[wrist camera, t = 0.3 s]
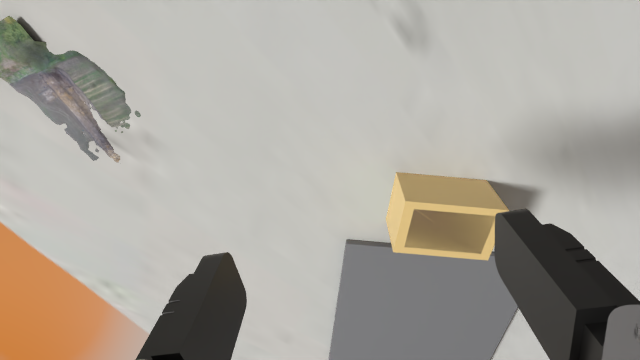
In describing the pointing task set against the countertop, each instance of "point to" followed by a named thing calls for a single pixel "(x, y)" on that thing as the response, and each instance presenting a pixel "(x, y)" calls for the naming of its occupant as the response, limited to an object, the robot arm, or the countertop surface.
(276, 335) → the countertop surface
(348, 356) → the mat
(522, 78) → the countertop surface
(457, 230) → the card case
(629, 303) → the robot arm
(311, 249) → the countertop surface
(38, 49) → the grey-green jagged piece
